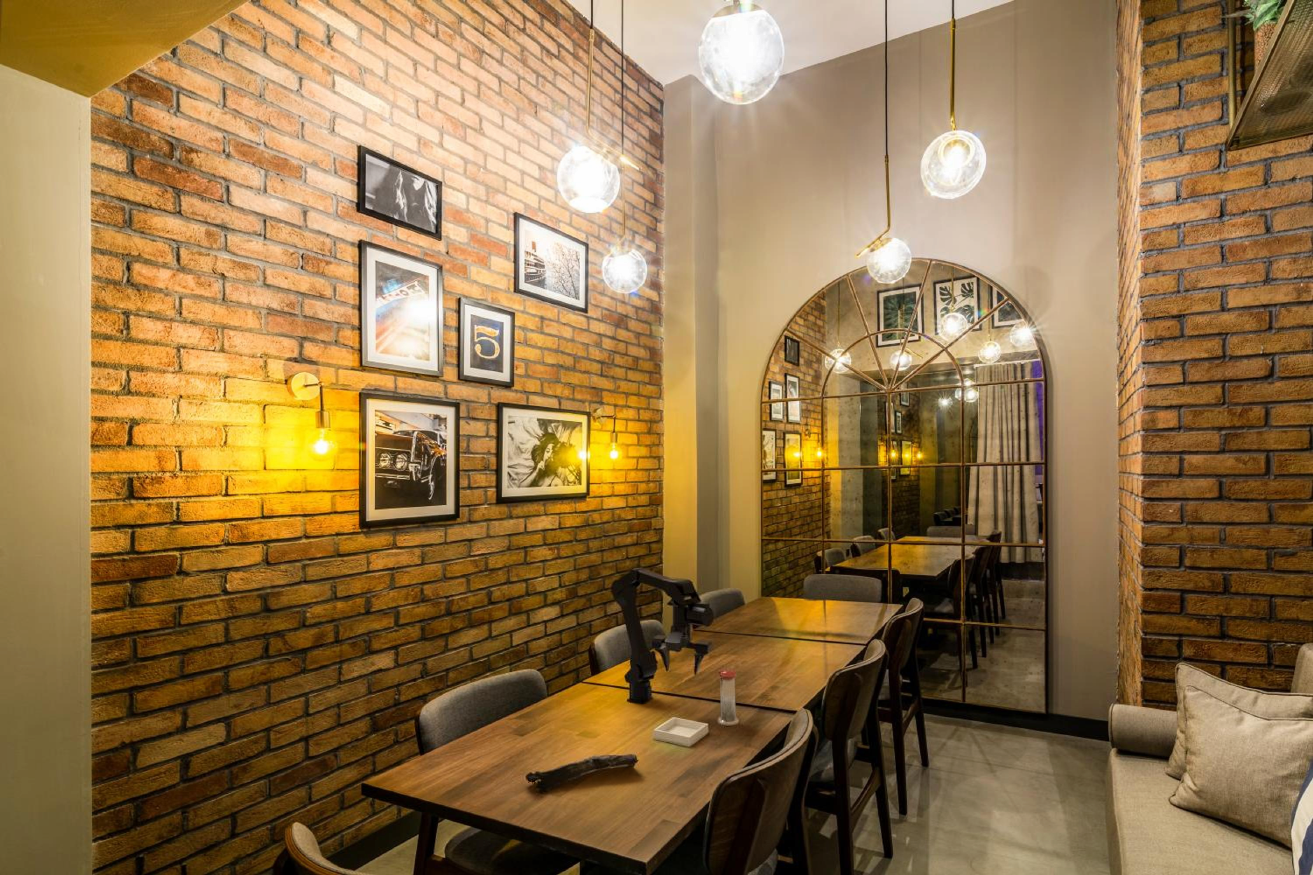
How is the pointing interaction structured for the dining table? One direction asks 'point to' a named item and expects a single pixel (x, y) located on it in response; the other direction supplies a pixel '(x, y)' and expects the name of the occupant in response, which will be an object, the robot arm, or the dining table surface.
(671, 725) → the tray
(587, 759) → the tree bark piece
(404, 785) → the dining table surface
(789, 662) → the dining table surface
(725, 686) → the stop pin
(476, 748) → the dining table surface
